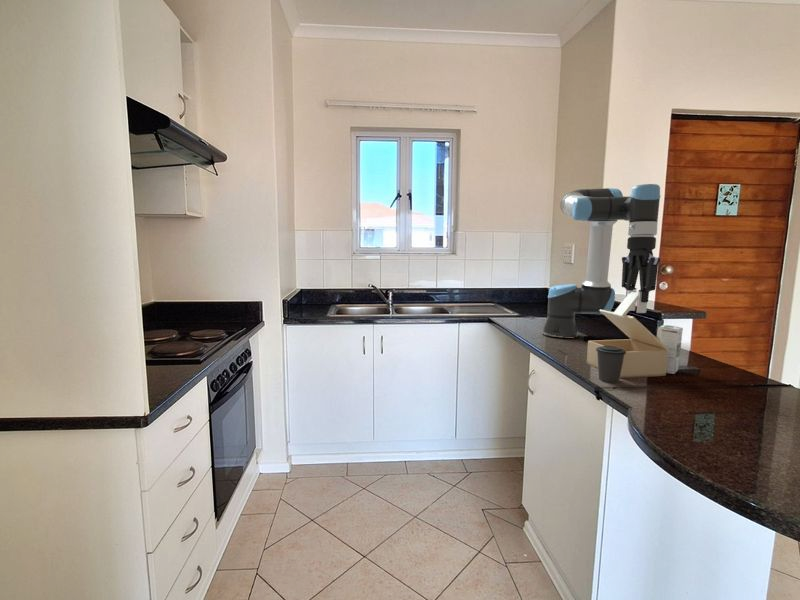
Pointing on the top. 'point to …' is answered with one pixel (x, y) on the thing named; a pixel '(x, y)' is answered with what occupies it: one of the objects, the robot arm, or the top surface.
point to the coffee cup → (610, 363)
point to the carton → (633, 357)
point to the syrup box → (671, 345)
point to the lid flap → (632, 322)
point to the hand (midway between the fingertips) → (635, 311)
